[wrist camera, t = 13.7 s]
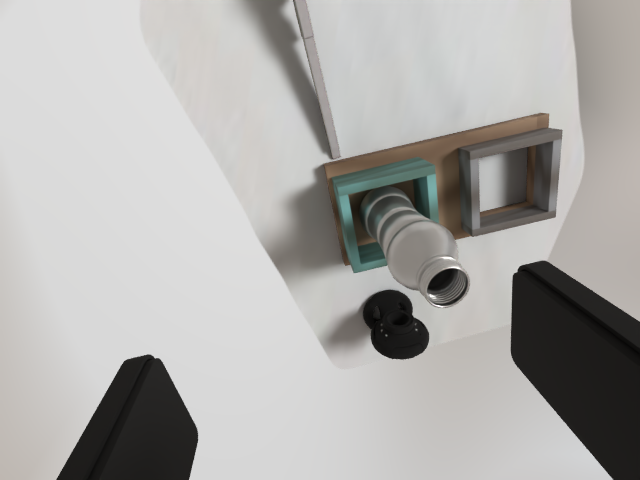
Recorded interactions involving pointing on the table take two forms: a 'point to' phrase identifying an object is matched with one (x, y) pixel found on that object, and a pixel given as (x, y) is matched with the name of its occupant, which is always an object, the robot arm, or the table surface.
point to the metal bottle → (414, 247)
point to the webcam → (395, 326)
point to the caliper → (316, 73)
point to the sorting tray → (446, 183)
